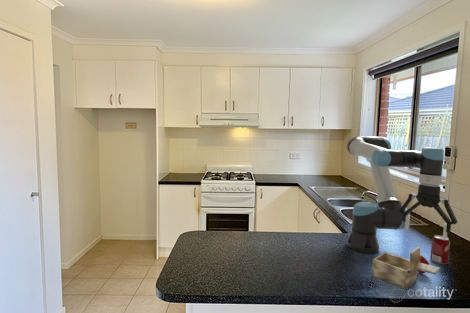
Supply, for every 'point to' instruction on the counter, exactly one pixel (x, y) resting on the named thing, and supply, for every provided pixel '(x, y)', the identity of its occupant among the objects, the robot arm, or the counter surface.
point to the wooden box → (394, 270)
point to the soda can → (440, 250)
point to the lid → (420, 266)
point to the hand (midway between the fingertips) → (424, 234)
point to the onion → (424, 261)
